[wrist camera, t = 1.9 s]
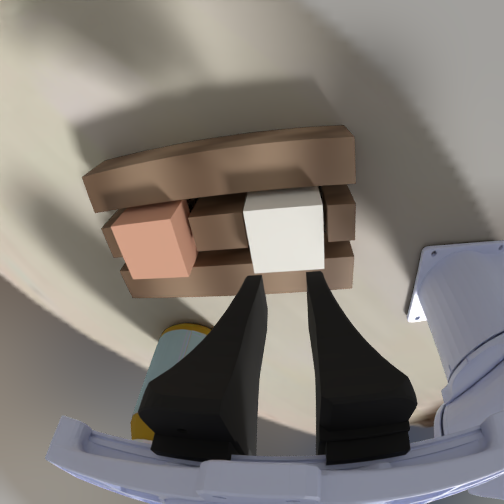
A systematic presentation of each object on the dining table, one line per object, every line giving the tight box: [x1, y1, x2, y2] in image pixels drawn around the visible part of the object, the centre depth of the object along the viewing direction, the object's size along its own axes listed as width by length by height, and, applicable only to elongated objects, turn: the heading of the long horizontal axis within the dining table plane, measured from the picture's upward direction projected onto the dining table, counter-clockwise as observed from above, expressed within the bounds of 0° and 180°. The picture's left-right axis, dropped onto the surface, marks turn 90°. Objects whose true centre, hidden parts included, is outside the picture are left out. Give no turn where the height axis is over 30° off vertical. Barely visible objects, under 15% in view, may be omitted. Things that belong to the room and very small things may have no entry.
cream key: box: [243, 186, 324, 273], centre depth 18 cm, size 4×4×3 cm
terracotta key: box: [111, 199, 199, 279], centre depth 19 cm, size 4×4×3 cm
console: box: [82, 125, 356, 298], centre depth 20 cm, size 16×10×3 cm, turn 99°
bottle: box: [131, 323, 211, 444], centre depth 23 cm, size 7×7×15 cm
